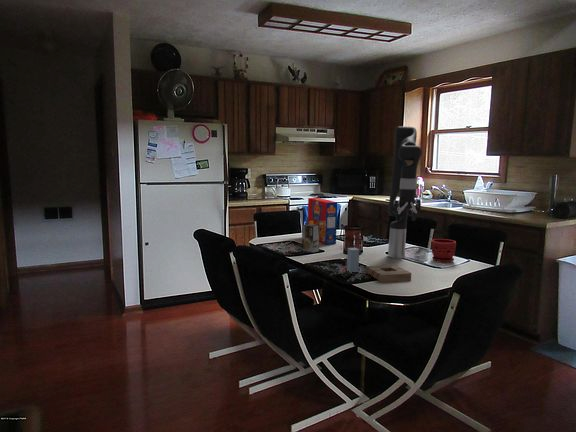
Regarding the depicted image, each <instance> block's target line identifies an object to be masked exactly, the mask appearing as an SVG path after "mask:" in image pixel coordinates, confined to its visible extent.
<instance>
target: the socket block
mask: <svg viewBox="0 0 576 432" xmlns="http://www.w3.org/2000/svg"><path fill="white" fill-rule="evenodd" d="M366 272H367V273H368V274H367V273H366ZM365 273H366V274H367V275H369V274H370V275H371V276H370V275H369V276H370V277H372V276H373V277H374V279H375V278H376V279H377V281H378V282H380V283H389V282H401V281H411V280H412V272H410V271H408V270H407V269H405V268H403V267H401V266H399V265H397V264H394V263H393V264H378V265H366V266H365ZM373 277H372V278H373ZM376 279H375V280H376Z"/></svg>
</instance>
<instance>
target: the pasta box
mask: <svg viewBox="0 0 576 432" xmlns="http://www.w3.org/2000/svg"><path fill="white" fill-rule="evenodd" d="M337 220H338V202H337V201H333V200H330V199H326V198H323V197H322V198H320V197H308V198H307V224H313V225H319V244H321V245H324V246H329V245H330V246H331V245H337V229H338V228H337V226H338V223H337Z"/></svg>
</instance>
